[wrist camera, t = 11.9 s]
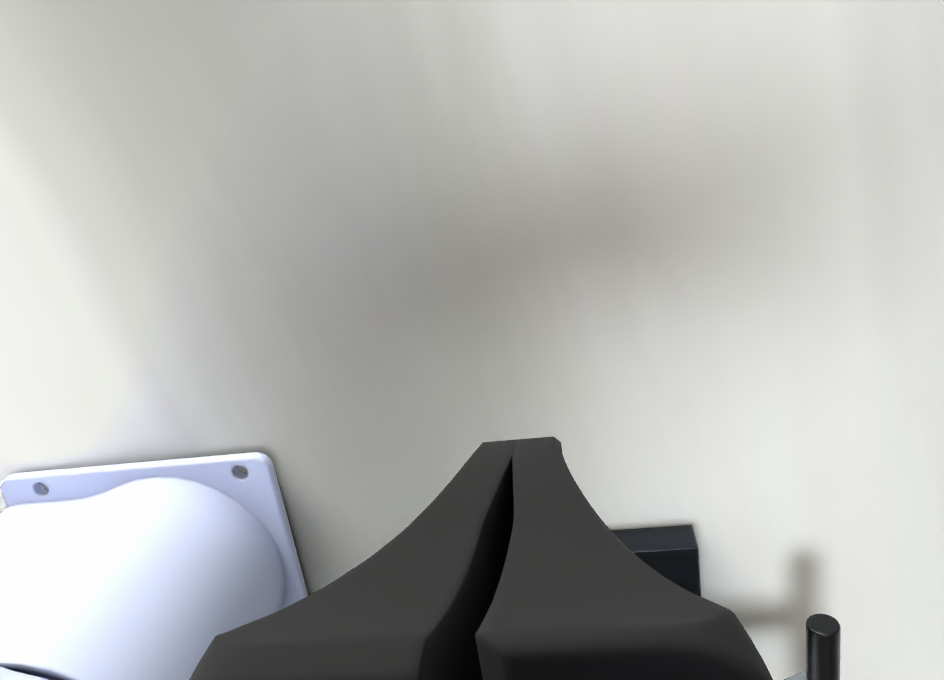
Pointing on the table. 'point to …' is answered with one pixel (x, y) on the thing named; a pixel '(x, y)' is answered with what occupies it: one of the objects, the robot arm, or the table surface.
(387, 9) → the table surface
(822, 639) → the lever
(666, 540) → the bracket
